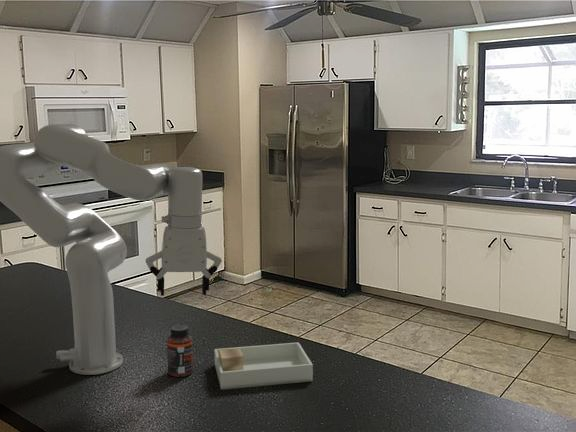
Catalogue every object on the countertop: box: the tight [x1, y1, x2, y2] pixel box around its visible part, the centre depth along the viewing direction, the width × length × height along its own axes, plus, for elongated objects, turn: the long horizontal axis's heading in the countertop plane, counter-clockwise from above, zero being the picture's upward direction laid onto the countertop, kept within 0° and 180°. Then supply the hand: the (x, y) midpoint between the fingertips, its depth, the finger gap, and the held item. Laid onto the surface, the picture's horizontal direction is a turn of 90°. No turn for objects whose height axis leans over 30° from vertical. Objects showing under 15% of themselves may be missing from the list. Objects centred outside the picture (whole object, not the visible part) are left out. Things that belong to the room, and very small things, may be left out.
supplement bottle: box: [166, 324, 194, 378], centre depth 146 cm, size 6×6×11 cm
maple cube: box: [219, 348, 244, 372], centre depth 145 cm, size 5×5×5 cm
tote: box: [214, 342, 314, 391], centre depth 147 cm, size 21×14×4 cm
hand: (183, 293), depth 144 cm, fingers open, 9 cm apart
